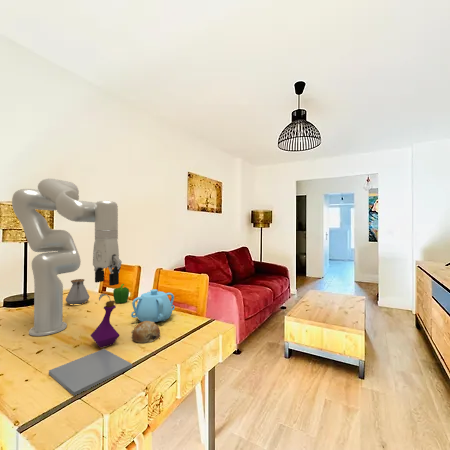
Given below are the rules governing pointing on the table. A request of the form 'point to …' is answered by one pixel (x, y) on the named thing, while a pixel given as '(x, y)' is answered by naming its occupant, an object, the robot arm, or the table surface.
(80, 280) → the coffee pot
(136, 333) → the bread roll
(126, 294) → the bell pepper
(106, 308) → the perfume bottle
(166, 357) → the table surface
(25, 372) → the table surface
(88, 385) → the slate tile
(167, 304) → the decorative pot
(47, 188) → the robot arm
